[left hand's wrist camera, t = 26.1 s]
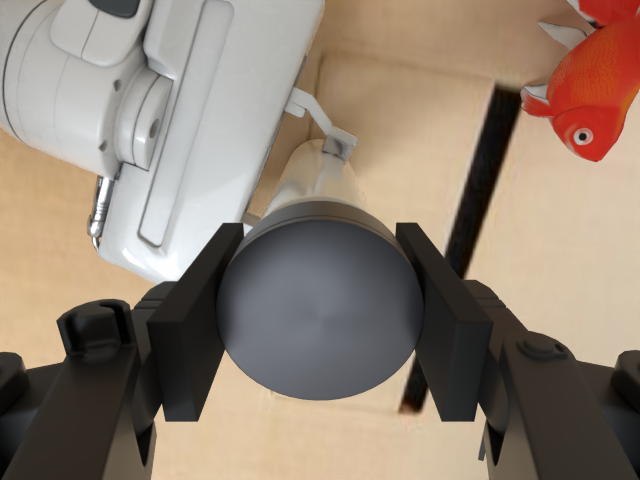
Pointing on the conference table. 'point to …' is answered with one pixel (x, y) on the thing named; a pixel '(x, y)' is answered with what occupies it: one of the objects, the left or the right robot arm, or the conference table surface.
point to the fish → (591, 77)
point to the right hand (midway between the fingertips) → (331, 195)
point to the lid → (319, 302)
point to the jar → (317, 180)
